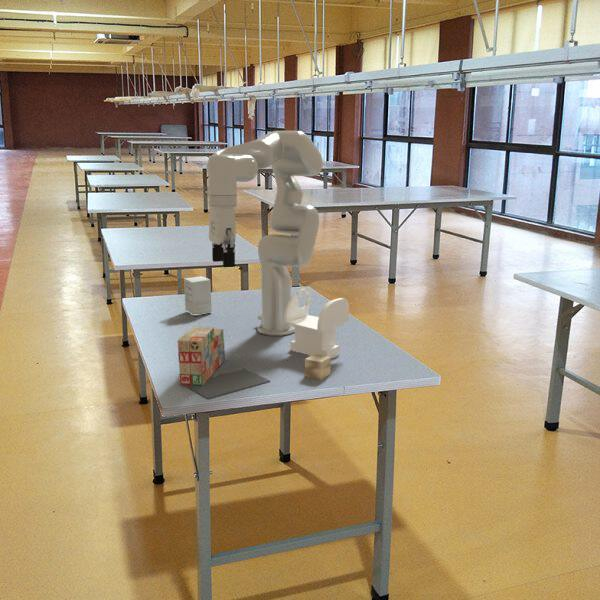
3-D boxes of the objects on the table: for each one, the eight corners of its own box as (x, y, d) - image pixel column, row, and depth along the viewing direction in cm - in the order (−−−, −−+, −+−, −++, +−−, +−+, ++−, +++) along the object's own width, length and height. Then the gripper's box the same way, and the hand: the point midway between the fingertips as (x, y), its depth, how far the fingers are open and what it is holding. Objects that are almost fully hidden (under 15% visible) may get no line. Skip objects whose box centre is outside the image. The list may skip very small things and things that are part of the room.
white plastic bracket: (284, 352, 203) (283, 293, 199) (311, 342, 213) (312, 285, 208) (320, 362, 194) (321, 301, 190) (348, 351, 204) (349, 293, 199)
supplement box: (203, 309, 251) (202, 275, 248) (212, 313, 245) (211, 279, 242) (184, 312, 247) (183, 277, 244) (193, 316, 241) (191, 281, 238)
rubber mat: (183, 385, 178) (183, 384, 178) (244, 369, 189) (244, 368, 189) (207, 399, 169) (207, 398, 169) (270, 381, 180) (270, 380, 180)
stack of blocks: (204, 358, 198) (202, 317, 195) (225, 359, 197) (223, 318, 194) (179, 384, 177) (177, 339, 174) (203, 385, 176) (200, 340, 173)
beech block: (305, 376, 184) (305, 358, 183) (314, 370, 188) (314, 353, 187) (321, 380, 182) (321, 362, 180) (330, 374, 186) (330, 356, 185)
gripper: (200, 199, 192) (201, 260, 195) (218, 204, 176) (219, 270, 180) (226, 199, 195) (226, 258, 198) (246, 203, 179) (246, 268, 183)
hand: (223, 264), depth 189 cm, fingers open, 9 cm apart
